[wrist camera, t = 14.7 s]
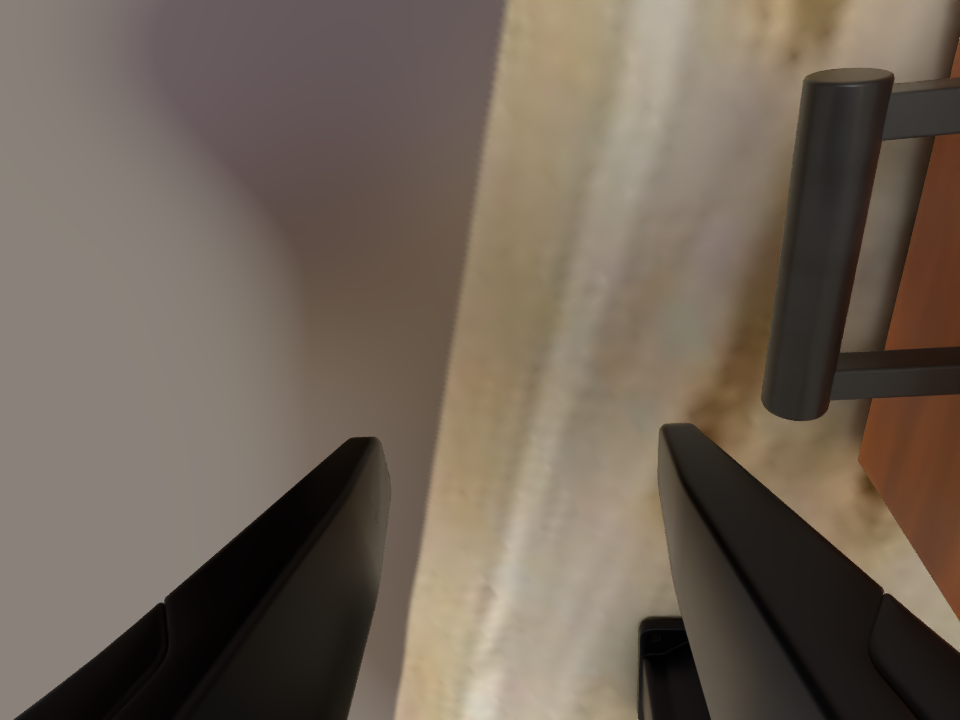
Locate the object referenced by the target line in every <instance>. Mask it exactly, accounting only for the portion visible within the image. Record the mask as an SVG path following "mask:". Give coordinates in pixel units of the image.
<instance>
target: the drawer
mask: <svg viewBox="0 0 960 720" xmlns="http://www.w3.org/2000/svg"><path fill="white" fill-rule="evenodd" d="M894 79H895V77H894V74H893V73H892V72H889V71H886V70H882V69H874V68H842V69H832V70H825V71H820V72H816V73H813V74H810V75H808V76H806V77H805V79H804V81H803V88H802V95H801V103H800V110H799V117H798V125H797V132H796V140H795V147H794V155H793V162H792V170H791V177H790V185H789V192H788V200H787V207H786V215H785V222H784V229H783V237H782V244H781V252H780V259H779V267H778V274H777V282H776V289H775V297H774V304H773V312H772V319H771V327H770V334H769V342H768V349H767V356H766V364H765V371H764V379H763V386H762V394H761V401H762V403H763V405H764V407H765V408H766V409H767V410H768V411H769V412H771V413H772V414H774V415H776V416H778V417H781V418H784V419H788V420H794V421H809V420H814V419H817V418H819V417H821V416H823V415H824V414H825V413H826V412H827V410H828V408H829V403H830V400H850V399H872V403H871V407H870V411H869V415H868V419H867V423H866V427H865V432H864V436H863V440H862V444H861V448H860V452H859V456H858V461H859V463H860V464H861V466H862V468H863V469H864V471H865V472H866V474H867V476H868V477H869V479H870V480H871V482H872V483H873V485H874V487H875V488H876V490H877V491H878V493H879V495H880V496H881V498H882V499H883V501H884V502H885V504H886V506H887V507H888V509H889V510H890V512H891V514H892V515H893V517H894V518H895V520H896V521H897V523H898V525H899V526H900V528H901V529H902V531H903V533H904V534H905V536H906V537H907V539H908V540H909V542H910V544H911V545H912V547H913V548H914V550H915V551H916V553H917V555H918V556H919V558H920V559H921V561H922V563H923V564H924V566H925V567H926V569H927V570H928V572H929V574H930V575H931V577H932V578H933V580H934V582H935V583H936V585H937V586H938V588H939V589H940V591H941V593H942V594H943V596H944V597H945V599H946V601H947V602H948V604H949V605H950V607H951V608H952V610H953V612H954V613H955V615H956V616H957V618H958V619H959V621H960V37H959V42H958V46H957V50H956V54H955V58H954V62H953V66H952V71H951V75H950V78H948V79H938V80H928V81H918V82H908V83H898V84H894ZM928 136H936V137H935V141H934V145H933V149H932V154H931V158H930V162H929V166H928V170H927V174H926V179H925V183H924V187H923V191H922V195H921V199H920V203H919V208H918V212H917V216H916V220H915V224H914V228H913V232H912V237H911V241H910V245H909V249H908V253H907V257H906V261H905V266H904V270H903V274H902V278H901V282H900V286H899V291H898V295H897V299H896V303H895V307H894V311H893V315H892V320H891V324H890V328H889V332H888V336H887V340H886V344H885V349H884V350H881V351H863V352H845V353H840V348H841V343H842V338H843V333H844V328H845V323H846V318H847V313H848V308H849V303H850V298H851V293H852V288H853V283H854V278H855V273H856V268H857V263H858V258H859V253H860V248H861V243H862V238H863V233H864V228H865V223H866V218H867V213H868V208H869V203H870V198H871V193H872V188H873V183H874V178H875V173H876V168H877V163H878V158H879V153H880V148H881V143H882V141H884V140H895V139H906V138H917V137H928Z"/></svg>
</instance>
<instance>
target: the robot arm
mask: <svg viewBox="0 0 960 720" xmlns="http://www.w3.org/2000/svg"><path fill="white" fill-rule="evenodd" d="M658 487H659V494H660V500H661V507H662V513H663V520H664V527H665V533H666V540H667V546H668V553H669V560H670V566H671V572H672V578H673V583H674V588H675V592H676V596H677V600H678V605H679V608H680V612H681V615H682V619H683V620H651V621H646V622H643V623H642V624H641V625H640V626H639V631H638V678H637V714H638V719H639V720H960V653H959V652H958V651H957V650H956V649H955V648H953V647H952V646H951V645H950V644H949V643H947V642H946V641H945V640H944V639H943V638H941V637H940V636H939V635H938V634H936V633H935V632H934V631H933V630H932V629H930V628H929V627H928V626H927V625H926V624H924V623H923V622H922V621H921V620H920V619H918V618H917V617H916V616H915V615H914V614H912V613H911V612H910V611H909V610H908V609H907V608H906V607H904V606H903V605H902V604H901V603H900V602H899V601H897V600H896V599H895V598H894V597H893V596H892V595H890V594H888V593H886V594H884V595H883V593H884V590H883V588H882V587H881V586H880V585H879V584H877V583H876V582H875V581H874V580H873V579H872V578H870V577H869V576H868V575H867V574H866V573H865V572H863V571H862V570H861V569H860V568H859V567H858V566H857V565H855V564H854V563H853V562H852V561H851V560H850V559H848V558H847V557H846V556H845V555H844V554H843V553H842V552H840V551H839V550H838V549H837V548H836V547H835V546H833V545H832V544H831V543H830V542H829V541H828V540H826V539H825V538H824V537H823V536H822V535H821V534H820V533H818V532H817V531H816V530H815V529H814V528H813V527H811V526H810V525H809V524H808V523H807V522H806V521H804V520H803V519H802V518H801V517H800V516H799V515H798V514H796V513H795V512H794V511H793V510H792V509H791V508H789V507H788V506H787V505H786V504H785V503H784V502H783V501H781V500H780V499H779V498H778V497H777V496H776V495H774V494H773V493H772V492H771V491H770V490H769V489H767V488H766V487H765V486H764V485H763V484H762V483H761V482H759V481H758V480H757V479H756V478H755V477H754V476H752V475H751V474H750V473H749V472H748V471H747V470H746V469H744V468H743V467H742V466H741V465H740V464H739V463H737V462H736V461H735V460H734V459H733V458H732V457H730V456H729V455H728V454H727V453H726V452H725V451H724V450H722V449H721V448H720V447H719V446H718V445H717V444H715V443H714V442H713V441H712V440H711V439H710V438H708V437H707V436H706V435H705V434H704V433H703V432H702V431H700V430H699V429H698V428H697V427H696V426H694V425H693V424H691V423H675V424H663V425H662V426H661V428H660V430H659V445H658ZM390 502H391V480H390V476H389V472H388V468H387V464H386V460H385V455H384V451H383V447H382V444H381V442H380V440H379V439H378V438H376V437H356V438H355V437H354V438H350V439H348V440H347V441H346V442H345V443H343V444H342V445H341V446H340V447H339V448H338V449H336V450H335V451H334V452H333V453H332V454H331V455H330V456H328V457H327V458H326V459H325V460H324V461H323V462H321V463H320V464H319V465H318V466H317V467H316V468H315V469H314V470H312V471H311V472H310V473H309V474H308V475H306V476H305V477H304V478H303V479H302V480H301V481H299V482H298V483H297V484H296V485H295V486H294V487H293V488H291V489H290V490H289V491H288V492H287V493H286V494H285V495H283V496H282V497H281V498H280V499H279V500H278V501H276V502H275V503H274V504H273V505H272V506H271V507H270V508H268V509H267V510H266V511H265V512H264V513H263V514H262V515H260V516H259V517H258V518H257V519H256V520H254V521H253V522H252V523H251V524H250V525H249V526H248V527H246V528H245V529H244V530H243V531H242V532H241V533H239V534H238V535H237V536H236V537H235V538H234V539H233V540H231V541H230V542H229V543H228V544H227V545H226V546H224V547H223V548H222V549H221V550H220V551H219V552H218V553H216V554H215V555H214V556H213V557H212V558H211V559H209V561H207V562H206V563H205V564H204V565H203V566H201V567H200V568H199V569H198V570H197V571H196V572H194V573H193V574H192V575H191V576H190V577H189V578H188V579H186V580H185V581H184V582H183V583H182V584H181V585H179V586H178V587H177V588H176V589H175V590H174V591H173V592H171V593H170V594H169V595H168V596H167V597H166V598H165V600H164V603H159V604H157V605H156V606H155V607H154V608H153V609H152V610H150V611H149V612H148V613H147V614H146V615H144V616H143V617H142V618H141V619H140V620H139V621H138V622H137V623H135V624H134V625H133V626H132V627H130V628H129V629H128V630H127V631H126V632H124V633H123V634H122V635H121V636H120V637H118V638H117V639H116V640H115V641H114V642H113V643H111V644H110V645H109V646H108V647H107V648H105V649H104V650H103V651H102V652H100V653H99V654H98V655H97V656H96V657H94V658H93V659H92V660H91V661H89V662H88V663H87V664H85V665H84V666H83V667H82V668H80V669H79V670H78V671H76V672H75V673H74V674H73V675H71V676H70V677H69V678H67V679H66V680H65V681H64V682H62V683H61V684H60V685H58V686H57V687H56V688H55V689H53V690H52V691H51V692H49V693H48V694H47V695H46V696H44V697H43V698H42V699H40V700H39V701H38V702H36V703H35V704H34V705H32V706H31V707H30V708H28V709H27V710H26V711H24V712H23V713H22V714H20V715H19V716H18V717H16V718H15V719H14V720H347V719H348V715H349V710H350V707H351V702H352V698H353V695H354V691H355V687H356V683H357V679H358V675H359V671H360V667H361V663H362V659H363V655H364V651H365V647H366V642H367V639H368V635H369V631H370V627H371V623H372V619H373V615H374V611H375V607H376V602H377V598H378V593H379V586H380V580H381V572H382V564H383V557H384V549H385V541H386V533H387V526H388V517H389V510H390Z"/></svg>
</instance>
